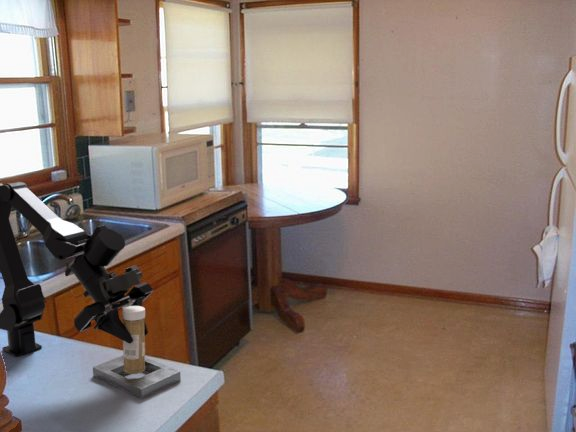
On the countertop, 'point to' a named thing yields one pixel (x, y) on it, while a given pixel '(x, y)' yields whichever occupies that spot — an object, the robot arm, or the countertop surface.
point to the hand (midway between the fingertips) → (139, 338)
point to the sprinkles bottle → (134, 340)
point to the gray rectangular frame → (141, 386)
